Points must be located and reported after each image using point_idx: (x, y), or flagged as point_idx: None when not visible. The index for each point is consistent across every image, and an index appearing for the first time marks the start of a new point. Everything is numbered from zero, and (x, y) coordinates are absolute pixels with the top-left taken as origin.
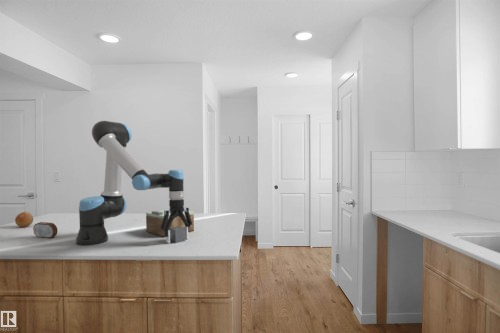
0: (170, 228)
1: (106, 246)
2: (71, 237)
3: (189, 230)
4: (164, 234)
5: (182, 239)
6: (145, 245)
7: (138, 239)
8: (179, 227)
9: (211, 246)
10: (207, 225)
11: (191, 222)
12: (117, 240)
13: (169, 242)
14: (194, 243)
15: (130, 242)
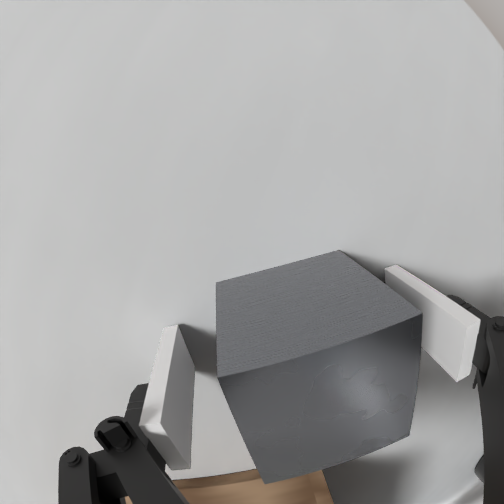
0: (408, 418)
1: None
2: None
3: None
4: (321, 471)
5: (255, 281)
6: (494, 310)
7: (435, 444)
8: (287, 436)
9: None
10: (17, 495)
11: (66, 474)
12: (480, 441)
13: (394, 269)
14: (169, 112)
15: None
